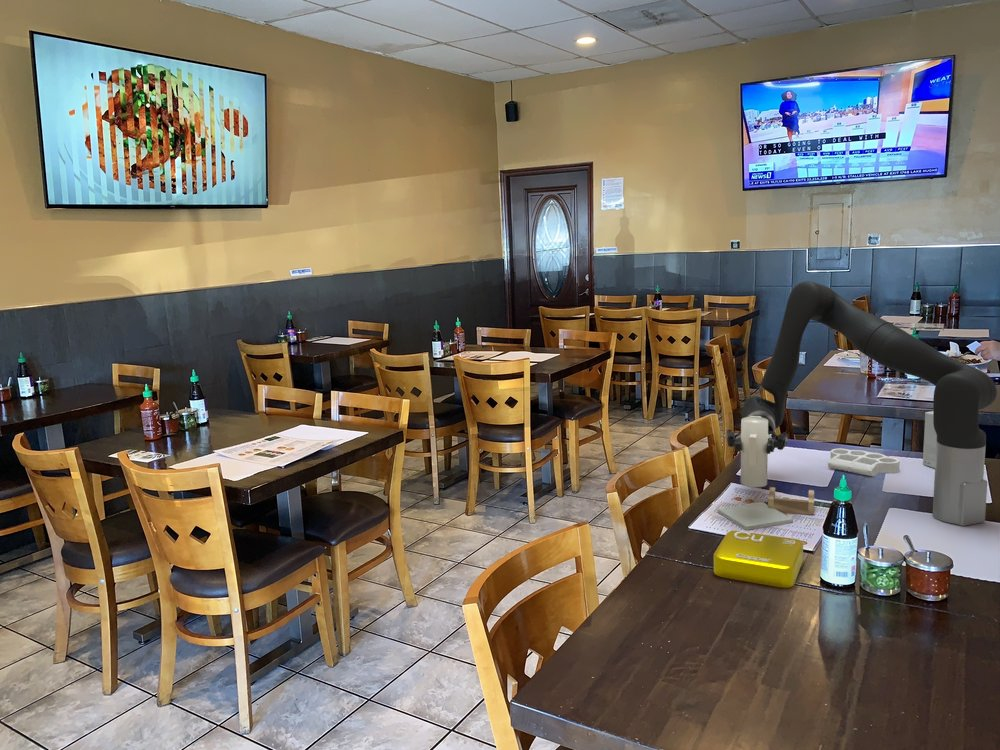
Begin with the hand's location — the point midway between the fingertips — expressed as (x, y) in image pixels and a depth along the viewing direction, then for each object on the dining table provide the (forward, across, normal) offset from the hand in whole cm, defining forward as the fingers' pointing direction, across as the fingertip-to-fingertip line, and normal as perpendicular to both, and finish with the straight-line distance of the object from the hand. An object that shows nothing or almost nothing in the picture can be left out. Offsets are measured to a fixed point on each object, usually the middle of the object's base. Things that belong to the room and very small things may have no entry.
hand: (753, 448), depth 169 cm
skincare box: (-52, +45, +18) cm, 71 cm away
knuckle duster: (-47, +25, +18) cm, 56 cm away
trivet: (-2, 0, +17) cm, 17 cm away
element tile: (+24, +3, +18) cm, 30 cm away
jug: (-1, 0, +9) cm, 9 cm away
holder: (-12, +8, +17) cm, 22 cm away
